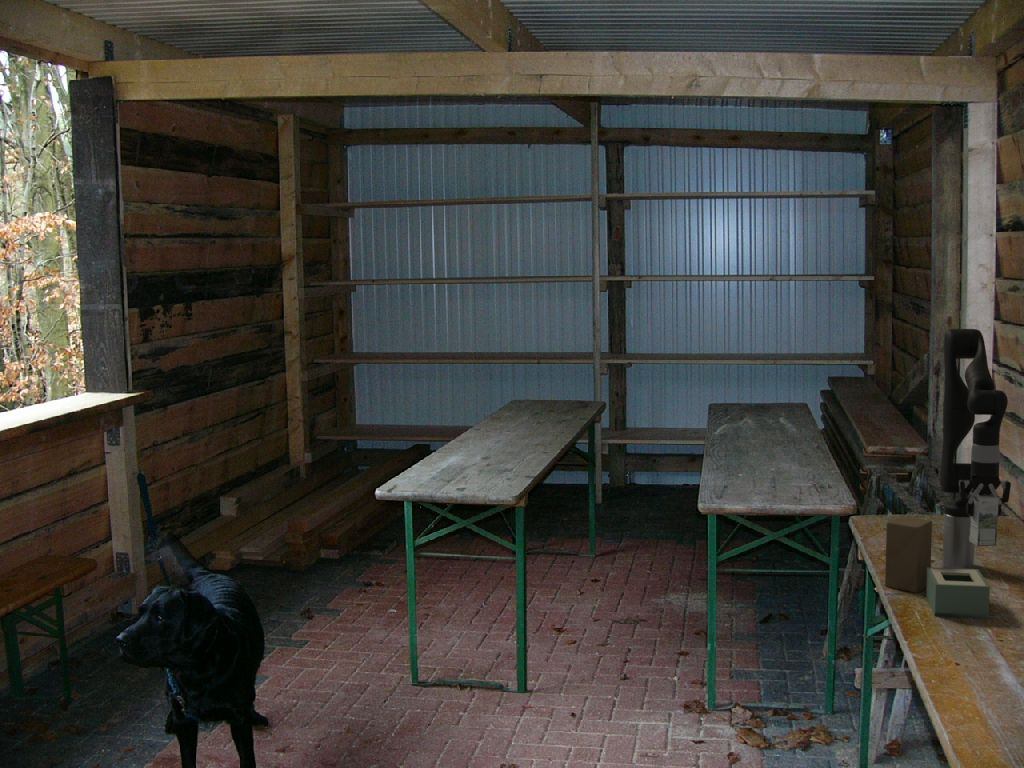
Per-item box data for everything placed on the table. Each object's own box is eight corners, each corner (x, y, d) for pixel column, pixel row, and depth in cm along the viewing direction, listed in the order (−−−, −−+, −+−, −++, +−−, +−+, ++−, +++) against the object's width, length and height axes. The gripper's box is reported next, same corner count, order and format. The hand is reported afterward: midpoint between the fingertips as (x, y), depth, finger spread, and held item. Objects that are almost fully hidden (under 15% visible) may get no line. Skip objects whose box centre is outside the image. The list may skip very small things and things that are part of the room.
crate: (926, 597, 328) (927, 567, 326) (977, 599, 325) (978, 569, 323) (934, 616, 312) (935, 584, 311) (988, 618, 309) (989, 586, 308)
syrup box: (987, 540, 328) (989, 492, 326) (997, 546, 322) (998, 496, 320) (968, 541, 328) (970, 492, 326) (977, 546, 322) (979, 497, 320)
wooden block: (884, 586, 338) (886, 522, 335) (898, 578, 345) (900, 515, 342) (916, 593, 331) (918, 527, 328) (930, 585, 338) (932, 520, 335)
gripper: (1009, 457, 324) (1007, 513, 326) (956, 456, 327) (954, 512, 329) (1015, 462, 317) (1013, 520, 319) (961, 461, 319) (959, 518, 322)
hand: (983, 516), depth 324 cm, fingers closed on syrup box, 6 cm apart
